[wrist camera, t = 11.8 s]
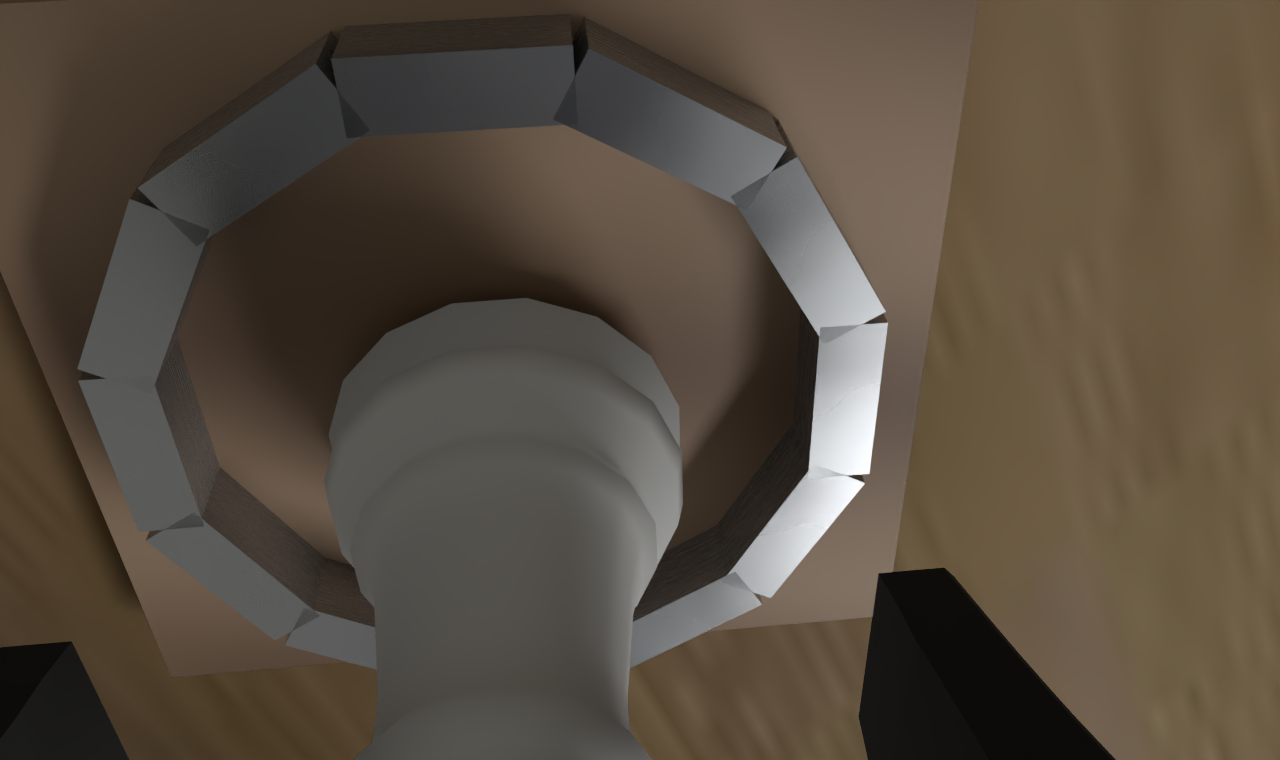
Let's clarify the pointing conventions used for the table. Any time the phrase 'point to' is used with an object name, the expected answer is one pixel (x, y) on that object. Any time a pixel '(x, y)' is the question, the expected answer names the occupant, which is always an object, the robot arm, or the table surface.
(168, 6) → the socket board
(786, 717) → the table surface
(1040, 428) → the table surface
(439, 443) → the rook chess piece
